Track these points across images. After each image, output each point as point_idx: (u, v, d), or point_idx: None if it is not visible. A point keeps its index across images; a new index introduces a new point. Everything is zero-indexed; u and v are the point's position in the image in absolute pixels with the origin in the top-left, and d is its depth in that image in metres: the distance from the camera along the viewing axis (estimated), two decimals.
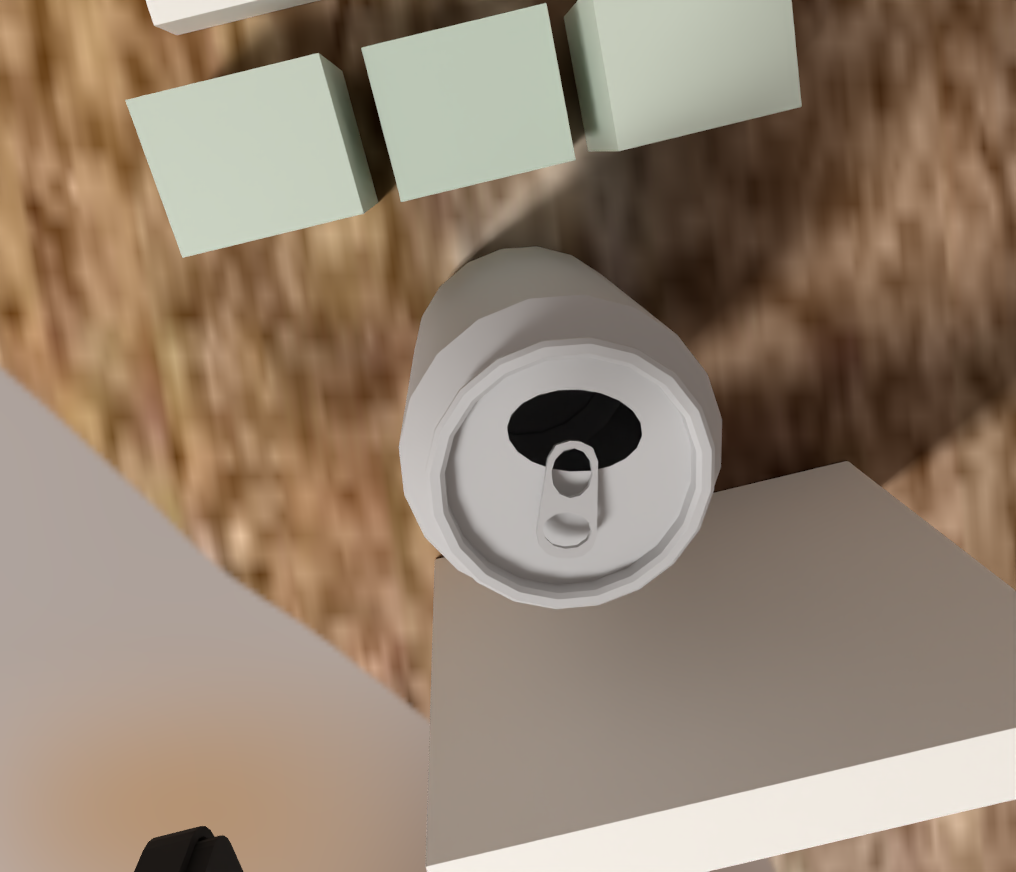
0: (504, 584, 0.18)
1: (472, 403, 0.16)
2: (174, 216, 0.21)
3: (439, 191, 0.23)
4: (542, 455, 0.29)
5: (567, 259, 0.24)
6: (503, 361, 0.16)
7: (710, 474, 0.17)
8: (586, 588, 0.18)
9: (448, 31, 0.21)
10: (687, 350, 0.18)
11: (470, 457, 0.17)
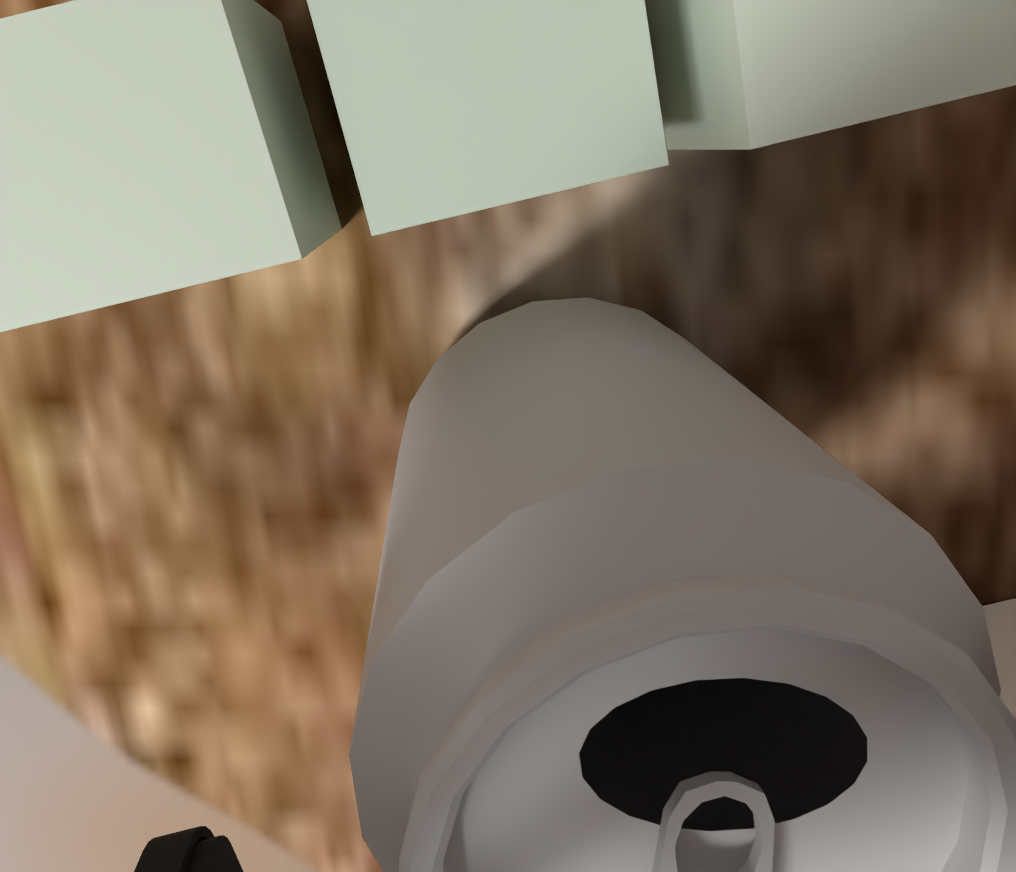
0: None
1: (506, 729, 0.07)
2: None
3: (436, 218, 0.13)
4: None
5: (642, 324, 0.15)
6: (580, 644, 0.07)
7: None
8: None
9: None
10: (949, 564, 0.09)
11: (498, 812, 0.08)
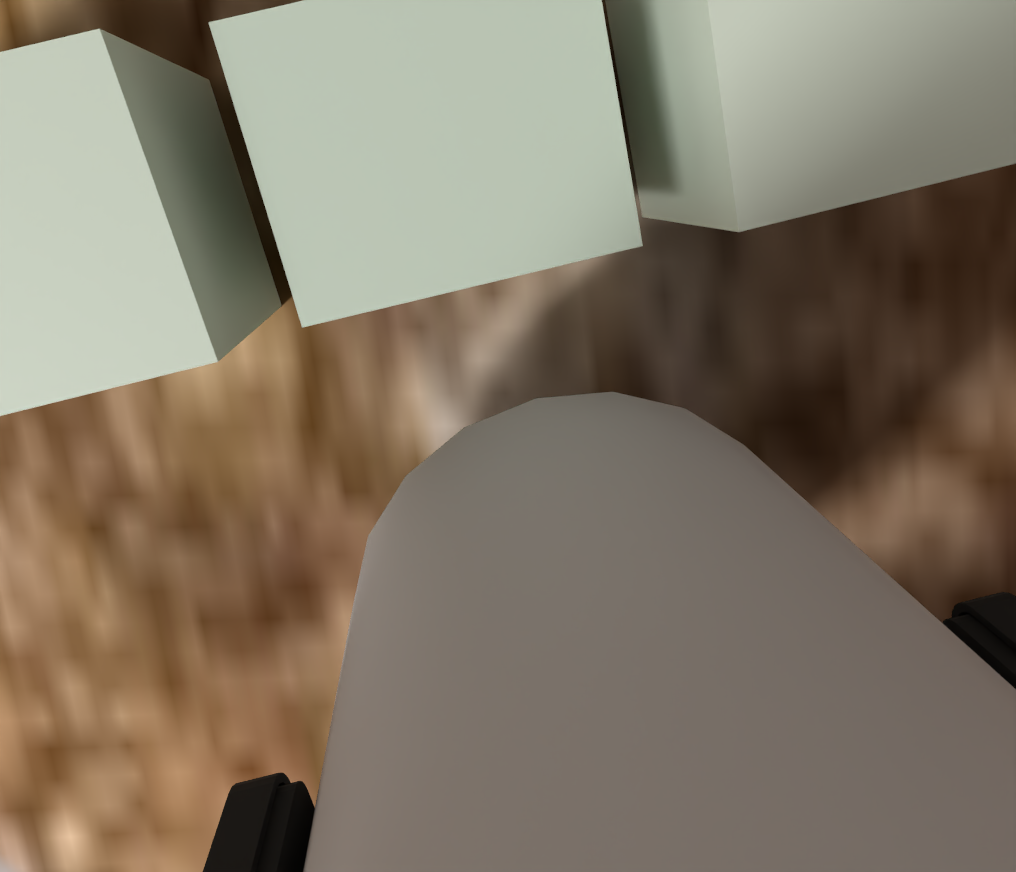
0: None
1: None
2: None
3: (377, 307, 0.12)
4: None
5: (697, 443, 0.11)
6: None
7: None
8: None
9: None
10: None
11: None
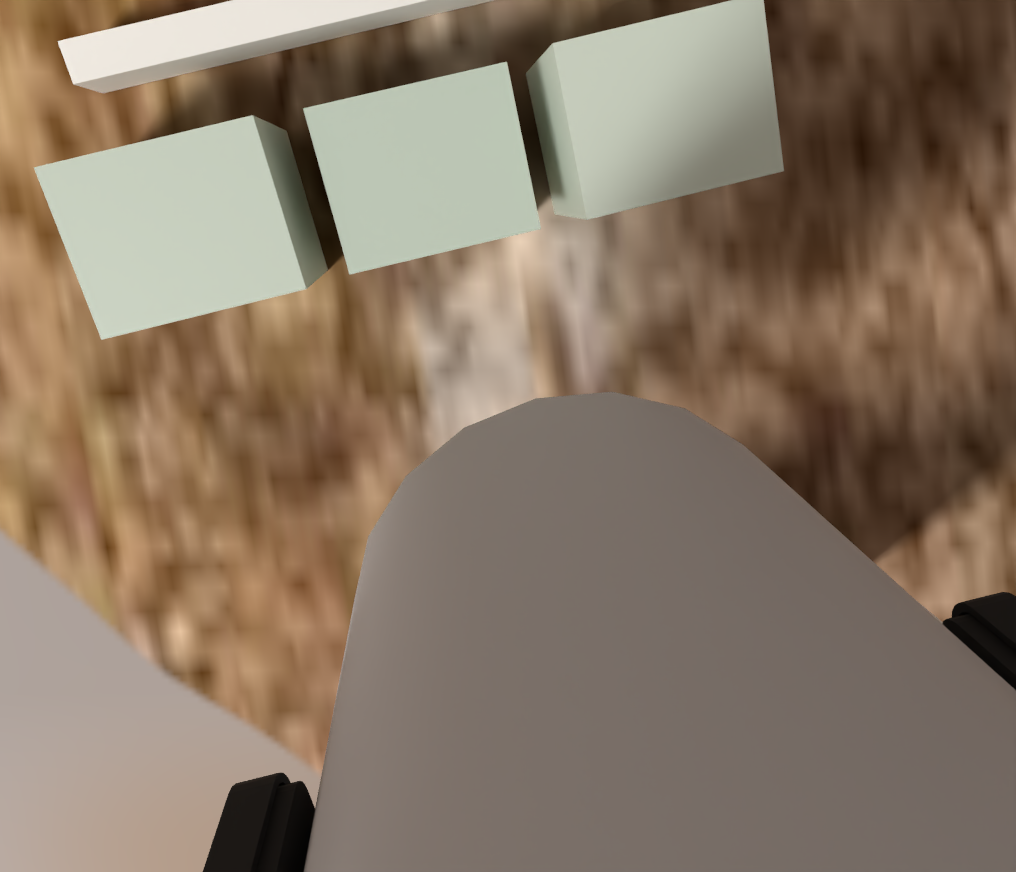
0: None
1: None
2: (91, 294, 0.19)
3: (391, 263, 0.21)
4: None
5: (697, 443, 0.11)
6: None
7: None
8: None
9: (399, 91, 0.19)
10: None
11: None
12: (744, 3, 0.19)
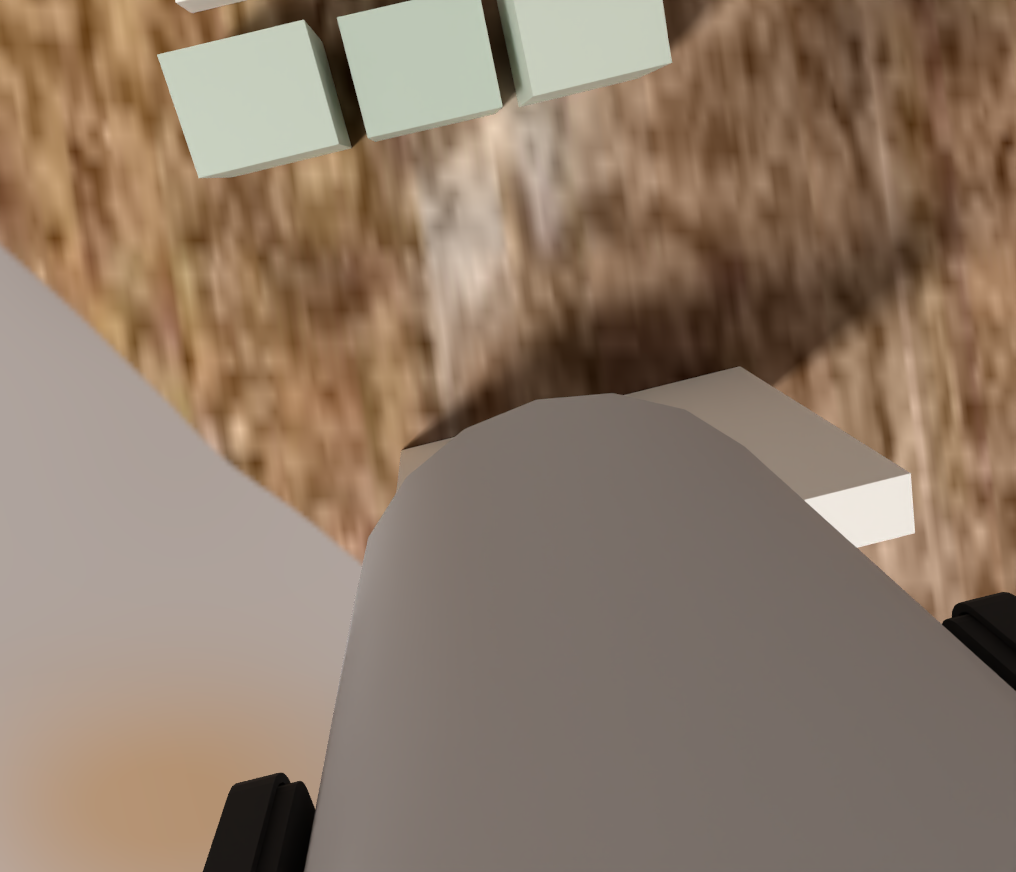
0: None
1: None
2: (193, 145, 0.28)
3: (397, 130, 0.29)
4: None
5: (698, 445, 0.11)
6: None
7: None
8: None
9: (403, 5, 0.28)
10: None
11: None
12: None
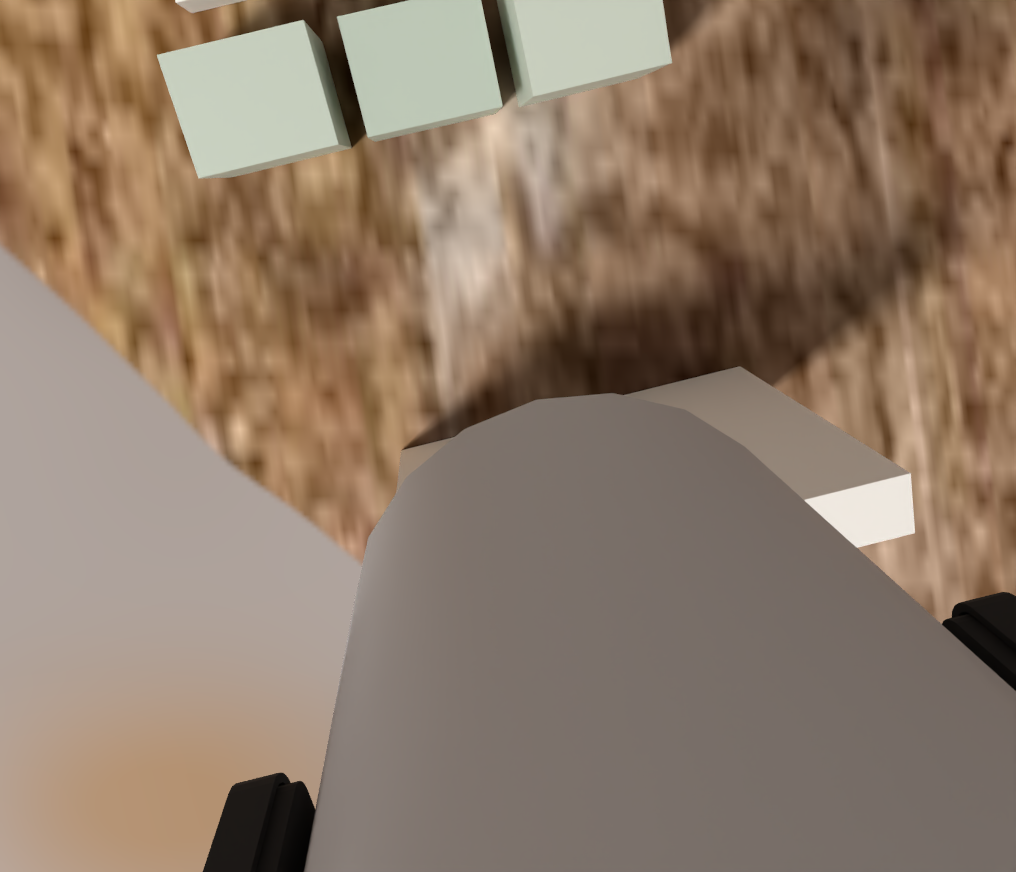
0: None
1: None
2: (192, 145, 0.28)
3: (397, 129, 0.29)
4: None
5: (698, 445, 0.11)
6: None
7: None
8: None
9: (403, 5, 0.28)
10: None
11: None
12: None
